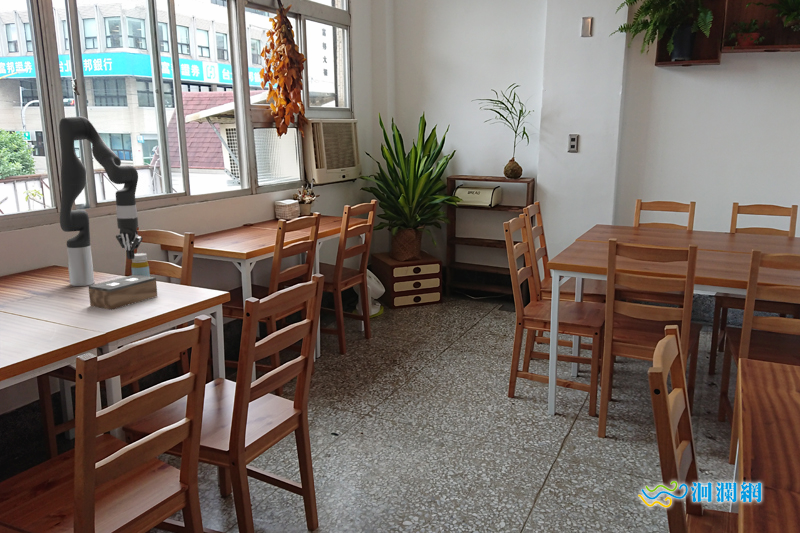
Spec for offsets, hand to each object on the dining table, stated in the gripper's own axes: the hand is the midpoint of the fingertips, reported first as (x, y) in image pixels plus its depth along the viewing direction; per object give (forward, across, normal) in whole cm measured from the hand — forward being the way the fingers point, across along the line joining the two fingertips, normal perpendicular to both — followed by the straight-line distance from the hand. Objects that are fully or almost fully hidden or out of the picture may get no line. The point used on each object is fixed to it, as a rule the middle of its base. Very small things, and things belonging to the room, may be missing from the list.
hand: (130, 258), depth 241 cm
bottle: (+17, -11, +13) cm, 24 cm away
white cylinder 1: (+16, 0, -9) cm, 19 cm away
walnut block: (+16, 0, -5) cm, 17 cm away
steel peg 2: (+16, 0, 0) cm, 17 cm away
